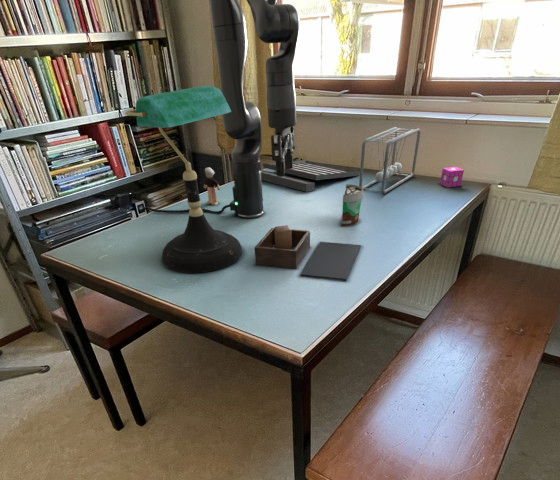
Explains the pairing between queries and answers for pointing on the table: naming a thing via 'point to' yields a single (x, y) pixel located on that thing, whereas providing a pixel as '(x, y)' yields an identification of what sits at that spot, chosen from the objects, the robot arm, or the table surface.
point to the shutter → (305, 174)
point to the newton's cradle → (393, 167)
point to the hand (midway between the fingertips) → (284, 172)
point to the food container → (351, 204)
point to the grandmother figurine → (211, 186)
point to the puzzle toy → (451, 177)
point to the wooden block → (283, 237)
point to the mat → (331, 261)
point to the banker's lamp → (190, 179)
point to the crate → (282, 250)
